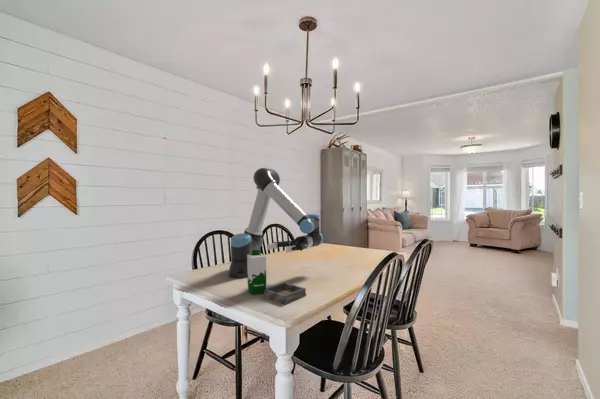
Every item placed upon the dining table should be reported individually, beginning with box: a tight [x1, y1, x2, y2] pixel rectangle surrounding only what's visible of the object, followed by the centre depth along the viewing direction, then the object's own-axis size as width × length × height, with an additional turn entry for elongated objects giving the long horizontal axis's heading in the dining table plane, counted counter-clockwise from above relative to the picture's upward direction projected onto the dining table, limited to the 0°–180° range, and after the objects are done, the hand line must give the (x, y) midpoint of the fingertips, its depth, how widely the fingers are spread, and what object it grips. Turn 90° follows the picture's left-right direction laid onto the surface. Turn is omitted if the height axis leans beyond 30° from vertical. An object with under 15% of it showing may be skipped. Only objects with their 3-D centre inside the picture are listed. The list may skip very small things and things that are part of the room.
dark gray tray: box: [263, 282, 307, 305], centre depth 138 cm, size 14×14×4 cm
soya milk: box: [247, 249, 267, 296], centre depth 144 cm, size 9×9×20 cm
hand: (277, 248), depth 152 cm, fingers open, 13 cm apart
